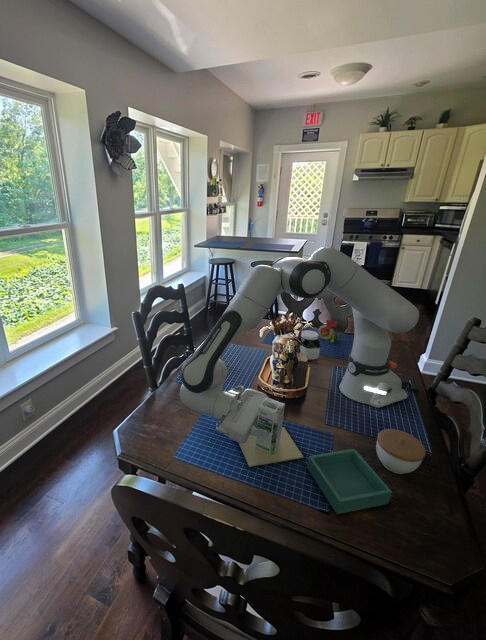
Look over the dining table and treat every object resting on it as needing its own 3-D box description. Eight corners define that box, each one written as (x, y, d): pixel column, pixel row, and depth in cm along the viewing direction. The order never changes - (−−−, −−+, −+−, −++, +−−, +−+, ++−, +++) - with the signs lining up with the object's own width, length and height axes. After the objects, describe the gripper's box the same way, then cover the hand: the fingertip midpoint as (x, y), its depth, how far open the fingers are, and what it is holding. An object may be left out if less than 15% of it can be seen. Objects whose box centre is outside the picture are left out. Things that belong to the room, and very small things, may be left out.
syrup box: (254, 447, 93) (257, 406, 88) (262, 434, 98) (266, 395, 92) (273, 455, 90) (278, 414, 85) (280, 442, 95) (285, 402, 89)
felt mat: (283, 428, 101) (284, 427, 101) (303, 457, 90) (303, 456, 90) (235, 435, 98) (235, 434, 98) (249, 467, 87) (249, 465, 87)
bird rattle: (319, 345, 156) (339, 343, 149) (313, 324, 154) (332, 321, 148) (323, 340, 160) (342, 338, 154) (317, 319, 159) (336, 316, 153)
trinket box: (399, 487, 81) (409, 459, 77) (363, 456, 90) (370, 430, 86) (427, 472, 85) (437, 445, 81) (389, 444, 94) (397, 419, 90)
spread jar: (320, 362, 137) (325, 338, 133) (296, 365, 135) (299, 340, 131) (306, 349, 148) (310, 326, 143) (283, 351, 146) (286, 328, 142)
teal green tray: (351, 459, 89) (354, 448, 88) (388, 503, 77) (392, 491, 75) (306, 467, 87) (308, 456, 85) (337, 514, 75) (340, 502, 73)
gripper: (213, 419, 88) (262, 438, 81) (241, 382, 104) (284, 395, 97) (212, 437, 90) (260, 457, 83) (240, 398, 106) (282, 412, 99)
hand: (273, 423), depth 90 cm, fingers open, 7 cm apart
